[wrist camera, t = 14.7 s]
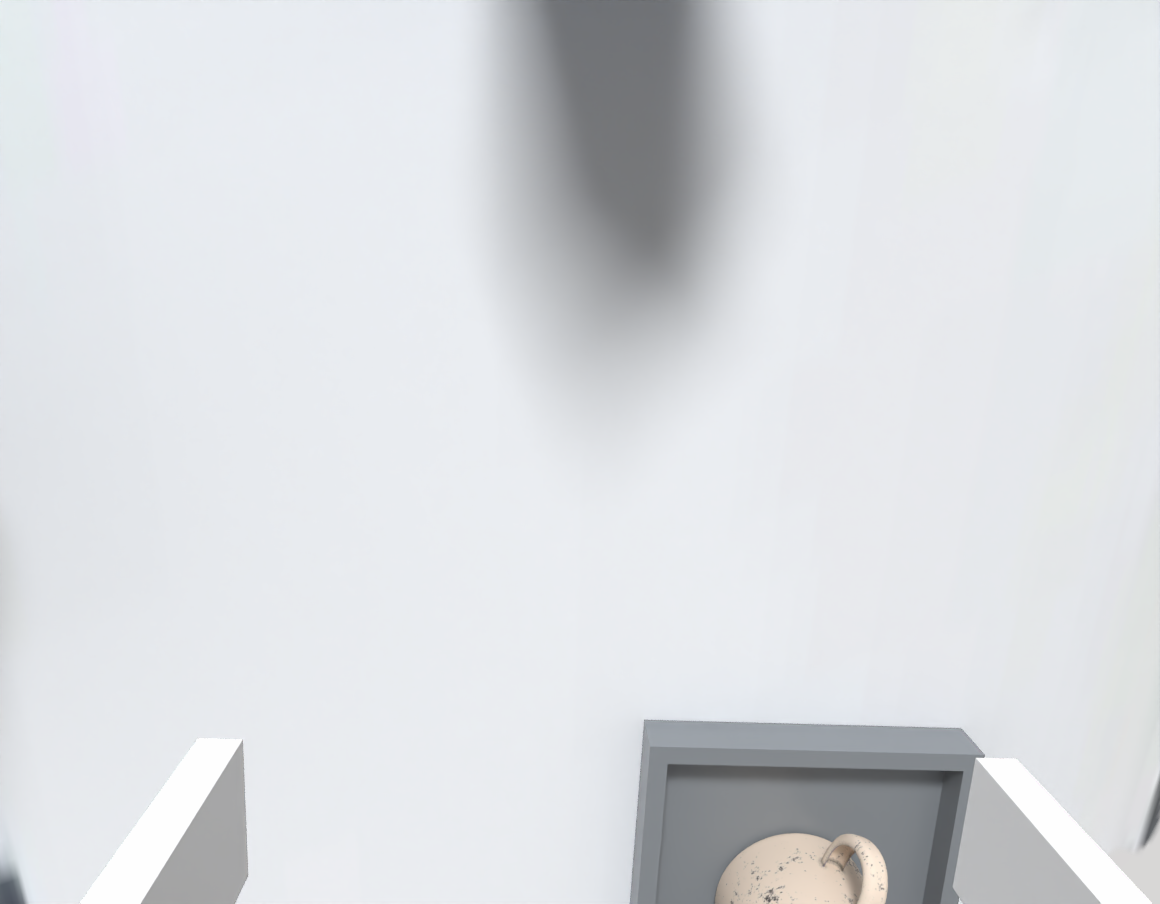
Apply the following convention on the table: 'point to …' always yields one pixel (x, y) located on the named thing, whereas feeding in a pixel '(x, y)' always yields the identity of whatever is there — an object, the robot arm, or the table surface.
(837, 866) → the teacup with lid
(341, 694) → the table surface
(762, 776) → the tray
